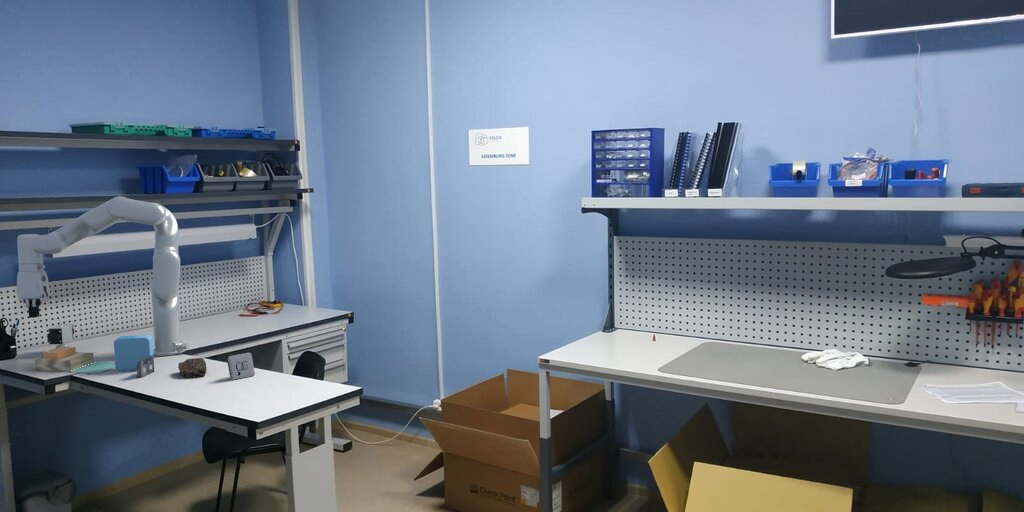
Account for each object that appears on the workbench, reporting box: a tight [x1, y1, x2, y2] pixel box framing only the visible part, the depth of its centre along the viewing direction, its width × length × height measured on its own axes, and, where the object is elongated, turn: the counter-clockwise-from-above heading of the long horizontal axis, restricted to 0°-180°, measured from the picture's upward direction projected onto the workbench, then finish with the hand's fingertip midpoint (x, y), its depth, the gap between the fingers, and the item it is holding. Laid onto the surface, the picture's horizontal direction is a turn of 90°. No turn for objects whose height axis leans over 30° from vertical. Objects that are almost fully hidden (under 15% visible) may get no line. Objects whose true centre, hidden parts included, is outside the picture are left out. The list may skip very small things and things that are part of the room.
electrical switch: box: [226, 352, 256, 381], centre depth 256 cm, size 8×5×8 cm, turn 137°
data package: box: [113, 334, 155, 372], centre depth 267 cm, size 12×4×12 cm, turn 101°
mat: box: [69, 360, 116, 374], centre depth 269 cm, size 12×15×1 cm
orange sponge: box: [42, 346, 77, 359], centre depth 271 cm, size 6×9×2 cm, turn 173°
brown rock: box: [177, 357, 208, 379], centre depth 260 cm, size 12×10×5 cm
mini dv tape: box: [136, 355, 155, 379], centre depth 259 cm, size 8×2×6 cm, turn 176°
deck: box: [34, 351, 95, 372], centre depth 271 cm, size 14×12×4 cm
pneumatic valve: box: [46, 323, 75, 348], centre depth 292 cm, size 6×12×12 cm, turn 4°
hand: (34, 316), depth 271 cm, fingers closed
